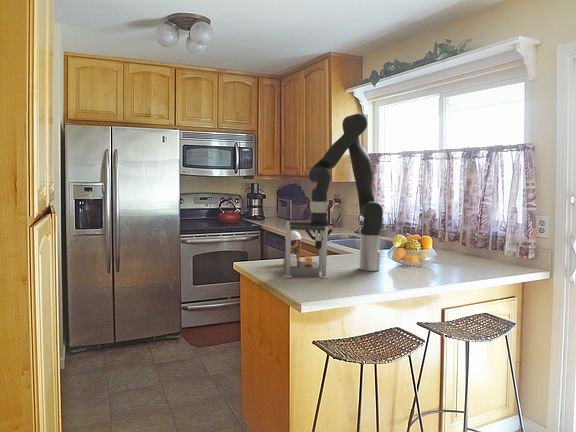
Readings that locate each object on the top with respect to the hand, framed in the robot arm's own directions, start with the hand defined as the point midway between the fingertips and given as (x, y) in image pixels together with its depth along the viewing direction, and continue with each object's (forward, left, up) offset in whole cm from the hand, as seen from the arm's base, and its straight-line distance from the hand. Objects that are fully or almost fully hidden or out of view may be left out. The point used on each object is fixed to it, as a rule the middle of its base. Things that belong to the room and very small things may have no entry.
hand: (318, 248), depth 206 cm
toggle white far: (+11, -5, -7) cm, 14 cm away
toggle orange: (+4, 0, -7) cm, 8 cm away
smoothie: (+11, -18, -12) cm, 24 cm away
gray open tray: (+8, 0, -12) cm, 14 cm away
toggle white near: (+11, +5, -7) cm, 14 cm away
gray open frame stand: (+6, 0, -12) cm, 13 cm away
